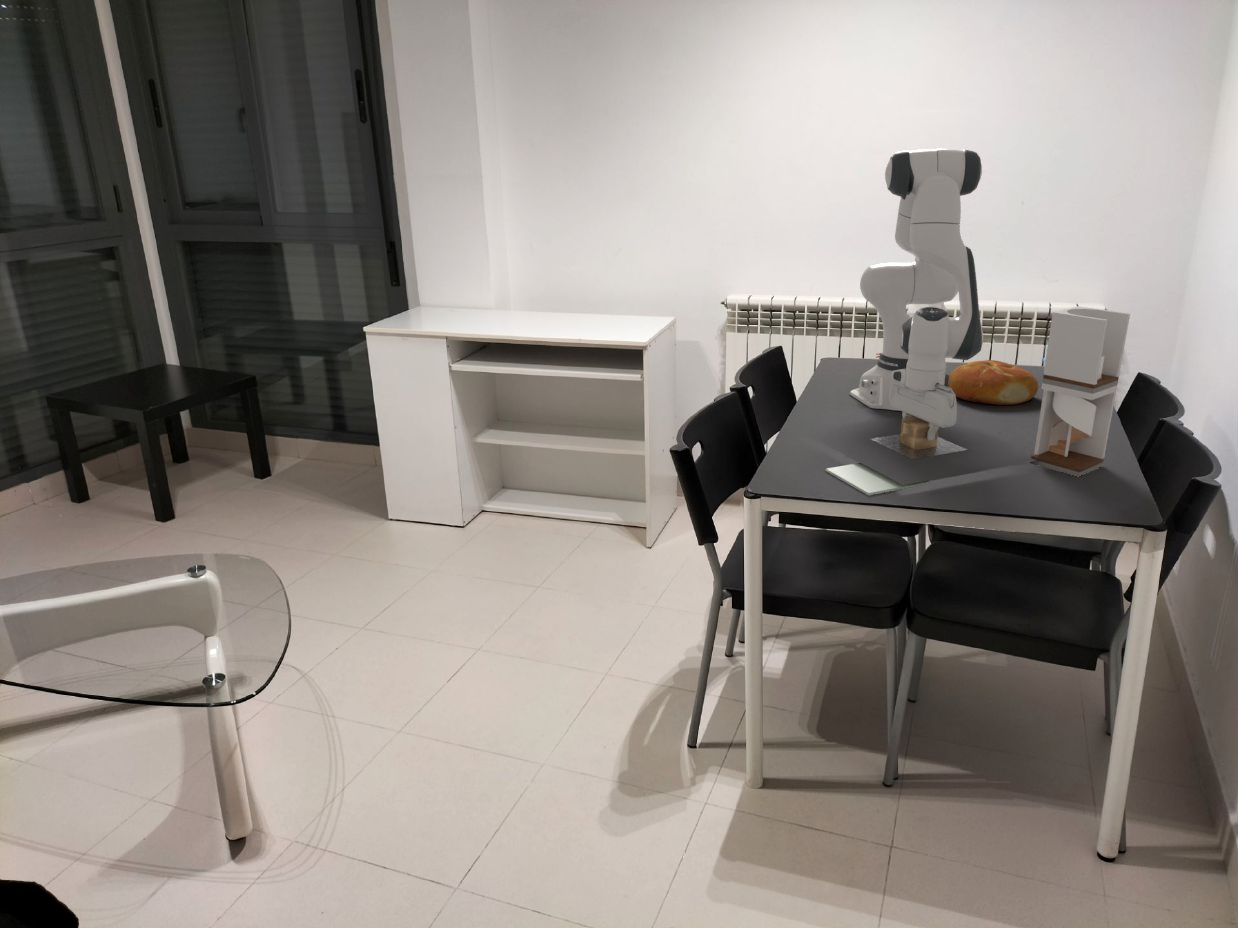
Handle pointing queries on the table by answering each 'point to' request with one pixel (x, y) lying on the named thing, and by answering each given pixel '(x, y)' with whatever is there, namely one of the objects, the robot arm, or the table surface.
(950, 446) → the post mount
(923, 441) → the oak block
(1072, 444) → the white tall layered tower
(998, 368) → the bread
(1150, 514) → the table surface
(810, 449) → the table surface
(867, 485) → the sage mat
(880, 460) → the table surface
